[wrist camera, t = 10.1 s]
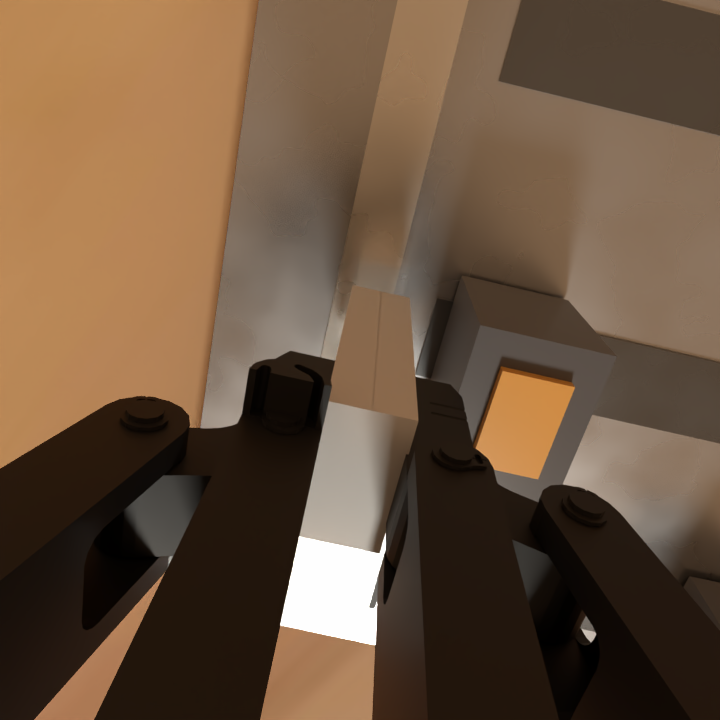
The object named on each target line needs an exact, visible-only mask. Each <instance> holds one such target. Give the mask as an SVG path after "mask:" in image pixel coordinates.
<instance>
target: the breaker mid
mask: <svg viewBox="0 0 720 720" xmlns="http://www.w3.org/2000/svg"><path fill="white" fill-rule="evenodd" d="M616 358H617V356H616V355H615V354H614V352H613V351H612V350H611V349H610V348H609V347H608V346H607V344H606V343H605V342H604V341H603V340H602V339H601V337H600V336H599V335H598V334H597V333H596V332H595V331H594V329H593V328H592V327H591V326H590V325H589V324H588V322H587V321H586V320H585V319H584V318H583V317H582V316H581V314H580V313H579V312H578V311H577V310H576V309H575V307H574V306H573V305H572V304H571V303H570V302H569V301H568V300H565V299H561V298H557V297H553V296H548V295H544V294H540V293H535V292H531V291H527V290H523V289H518V288H514V287H510V286H505V285H501V284H497V283H493V282H488V281H484V280H480V279H475V278H471V277H467V276H463V275H461V278H460V282H459V285H458V289H457V292H456V295H455V299H454V302H453V305H452V309H451V312H450V315H449V319H448V322H447V325H446V329H445V332H444V336H443V339H442V342H441V346H440V349H439V352H438V356H437V359H436V362H435V366H434V369H433V373H432V376H431V379H430V380H433V381H438V382H442V383H447V384H451V385H452V387H453V388H454V389H455V390H456V391H457V392H458V393H459V394H460V395H461V396H462V398H463V403H464V407H465V412H466V416H467V422H468V425H469V430H470V434H471V439H472V443H473V448H475V449H477V450H479V451H480V452H481V453H482V454H483V455H484V456H486V457H487V458H488V459H489V461H490V463H491V464H492V466H493V468H494V472H495V476H496V480H497V483H498V484H499V485H501V486H502V487H504V488H506V489H508V490H510V491H512V492H515V493H517V494H519V495H522V496H524V497H527V498H529V499H532V500H534V501H536V502H538V501H539V498H540V496H541V493H542V491H543V490H544V489H545V488H547V487H549V486H550V485H562V484H563V482H564V480H565V478H566V475H567V473H568V471H569V468H570V466H571V464H572V461H573V459H574V457H575V454H576V452H577V450H578V447H579V445H580V442H581V440H582V438H583V435H584V433H585V431H586V428H587V426H588V424H589V421H590V419H591V417H592V414H593V412H594V410H595V407H596V405H597V402H598V400H599V398H600V395H601V393H602V391H603V388H604V386H605V384H606V381H607V379H608V377H609V374H610V372H611V370H612V367H613V365H614V362H615V360H616Z"/></svg>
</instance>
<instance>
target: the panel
mask: <svg viewBox="0 0 720 720" xmlns="http://www.w3.org/2000/svg"><path fill="white" fill-rule="evenodd" d="M461 275H463V276H467V277H471V278H475V279H480V280H484V281H488V282H493V283H497V284H501V285H505V286H510V287H514V288H518V289H523V290H527V291H531V292H535V293H540V294H544V295H548V296H553V297H557V298H561V299H565V300H568V301H569V302H570V303H571V304H572V305H573V306H574V307H575V309H576V310H577V311H578V312H579V313H580V314H581V316H582V317H583V318H584V319H585V320H586V321H587V322H588V324H589V325H590V326H591V327H592V328H593V329H594V331H595V332H596V333H597V334H598V335H599V336H600V337H601V339H602V340H603V341H604V342H605V343H606V344H607V346H608V347H609V348H610V349H611V350H612V351H613V352H614V354H615V355H616V356H617V358H616V360H615V362H614V365H613V367H612V370H611V372H610V374H609V377H608V379H607V381H606V384H605V386H604V388H603V391H602V393H601V395H600V398H599V400H598V402H597V405H596V407H595V410H594V412H593V414H592V417H591V419H590V421H589V424H588V426H587V428H586V431H585V433H584V435H583V438H582V440H581V442H580V445H579V447H578V450H577V452H576V454H575V457H574V459H573V461H572V464H571V466H570V468H569V471H568V473H567V475H566V478H565V480H564V482H563V485H569V486H574V487H580V488H584V489H585V490H586V491H587V490H589V491H591V492H593V493H595V494H597V495H598V496H599V497H600V498H602V499H604V500H605V501H607V502H609V503H610V504H611V505H612V506H613V507H614V508H615V509H616V510H617V511H618V512H620V513H621V515H622V516H623V517H624V518H625V519H626V521H627V522H628V523H629V524H630V525H631V526H632V528H633V529H634V530H635V531H636V532H637V533H638V535H639V536H640V537H641V538H642V539H643V541H644V542H645V543H646V544H647V545H648V546H649V548H650V549H651V550H652V551H653V552H654V554H655V555H656V556H657V557H658V558H659V559H660V561H661V562H662V563H663V564H664V565H665V567H666V568H667V569H668V570H669V571H670V572H671V574H672V575H673V576H674V577H675V578H676V579H677V581H678V582H679V583H680V584H681V585H682V587H684V585H685V584H686V582H687V580H688V578H689V576H691V577H696V578H701V579H705V580H710V581H714V582H719V583H720V0H259V2H258V10H257V17H256V24H255V32H254V39H253V46H252V54H251V61H250V68H249V76H248V83H247V90H246V98H245V105H244V112H243V120H242V127H241V134H240V142H239V149H238V156H237V164H236V171H235V178H234V186H233V193H232V200H231V207H230V215H229V222H228V229H227V237H226V244H225V251H224V259H223V266H222V273H221V281H220V288H219V295H218V303H217V310H216V317H215V325H214V332H213V339H212V347H211V354H210V361H209V369H208V376H207V383H206V391H205V398H204V405H203V413H202V420H201V427H200V428H222V427H228V426H232V425H235V424H237V423H238V421H239V419H240V417H241V414H242V410H243V403H244V397H245V391H246V385H247V378H248V372H249V368H250V367H251V366H252V365H253V364H254V363H256V362H259V361H262V360H266V359H276V358H277V357H279V356H281V355H283V354H285V353H287V352H289V351H294V352H299V353H303V354H308V355H312V356H317V357H321V358H326V359H330V360H336V356H337V351H338V347H339V343H340V338H341V334H342V330H343V325H344V321H345V317H346V312H347V308H348V304H349V299H350V295H351V291H352V286H353V285H356V286H360V287H364V288H369V289H373V290H378V291H382V292H386V293H391V294H395V295H400V296H404V297H409V298H410V308H411V322H412V336H413V350H414V365H415V377H420V378H424V379H429V380H430V379H431V376H432V373H433V369H434V366H435V362H436V359H437V356H438V352H439V349H440V346H441V342H442V339H443V336H444V332H445V329H446V325H447V322H448V319H449V315H450V312H451V309H452V305H453V302H454V299H455V295H456V292H457V289H458V285H459V282H460V278H461ZM385 549H386V534H385V537H384V541H383V544H382V547H381V551H380V554H379V553H374V552H369V551H364V550H360V549H355V548H350V547H345V546H341V545H336V544H331V543H326V542H322V541H317V540H312V539H307V538H303V537H299V541H298V545H297V550H296V555H295V559H294V564H293V568H292V573H291V578H290V582H289V587H288V592H287V596H286V601H285V606H284V610H283V615H282V619H281V624H280V625H282V626H286V627H291V628H296V629H301V630H306V631H311V632H315V633H320V634H325V635H330V636H335V637H339V638H344V639H349V640H354V641H359V642H363V643H368V644H373V645H375V641H376V617H377V604H376V607H375V609H371V608H368V607H369V603H370V600H371V597H372V593H373V590H374V587H375V583H376V580H377V576H378V573H379V570H380V566H381V563H382V560H383V556H384V553H385ZM580 628H581V629H582V631H583V633H584V634H585V636H586V637H587V639H588V640H589V641H590V642H592V641H593V640H594V638H595V636H596V633H595V630H594V628H593V626H592V624H591V623H590V621H589V620H588V618H587V617H585V619H584V621H583V623H582V625H581V627H580Z"/></svg>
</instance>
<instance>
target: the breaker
mask: <svg viewBox="0 0 720 720" xmlns="http://www.w3.org/2000/svg"><path fill="white" fill-rule="evenodd" d="M683 588H684V589H685V590H686V591H687V592H688V594H689V595H690V596H691V597H692V598H693V600H694V601H695V602H696V603H697V604H698V605H699V607H700V608H701V609H702V610H703V611H704V612H705V614H706V615H707V616H708V617H709V618H710V620H711V621H712V622H713V623H714V624H715V625H716V627H717V628H718V629H719V630H720V583H719V582H714V581H710V580H705V579H701V578H696V577H691V576H689V578H688V580H687V582H686V584H685V585H684V587H683Z"/></svg>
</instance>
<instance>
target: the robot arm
mask: <svg viewBox="0 0 720 720" xmlns="http://www.w3.org/2000/svg"><path fill="white" fill-rule="evenodd" d="M189 426H190V422H189V415H188V414H187V413H186V412H185V411H184V410H183V409H182V408H181V407H180V406H178V405H176V404H174V403H172V402H170V401H166V400H162V399H158V398H156V397H145V396H137V397H132V398H125V399H119V400H117V401H114V402H112V403H109V404H107V405H105V406H103V407H102V408H100V409H98V410H97V411H95V412H94V413H92V414H90V415H89V416H87V417H85V418H84V419H82V420H80V421H79V422H77V423H75V424H74V425H72V426H70V427H69V428H67V429H65V430H64V431H62V432H60V433H59V434H57V435H55V436H54V437H52V438H50V439H49V440H47V441H45V442H44V443H42V444H40V445H39V446H37V447H35V448H34V449H32V450H31V451H29V452H27V453H26V454H24V455H22V456H21V457H19V458H17V459H16V460H14V461H12V462H11V463H9V464H7V465H6V466H4V467H2V468H1V469H0V720H34V719H35V718H36V717H37V716H38V715H39V713H40V712H41V711H42V710H43V709H44V708H45V707H46V706H47V704H48V703H49V702H50V701H51V700H52V699H53V698H54V697H55V695H56V694H57V693H58V692H59V691H60V690H61V689H62V688H63V686H64V685H65V684H66V683H67V682H68V681H69V680H70V678H71V677H72V676H73V675H74V674H75V673H76V672H77V671H78V669H79V668H80V667H81V666H82V665H83V664H84V663H85V662H86V660H87V659H88V658H89V657H90V656H91V655H92V654H93V653H94V651H95V650H96V649H97V648H98V647H99V646H100V645H101V644H102V642H103V641H104V640H105V639H106V638H107V637H108V636H109V635H110V633H111V632H112V631H113V630H114V629H115V628H116V627H117V626H118V624H119V623H120V622H121V621H122V620H123V619H124V618H125V616H126V615H127V614H128V613H129V612H130V611H131V610H132V609H133V607H134V606H135V605H136V604H137V603H138V602H139V601H140V600H141V598H142V597H143V596H144V595H145V594H146V593H147V592H148V591H149V589H150V588H151V587H152V586H153V585H154V584H155V583H156V582H157V580H158V579H159V578H160V577H161V576H162V575H163V574H164V573H165V574H164V576H163V578H162V580H161V582H160V584H159V586H158V589H157V591H156V593H155V595H154V597H153V599H152V601H151V603H150V605H149V607H148V609H147V611H146V613H145V616H144V618H143V620H142V622H141V624H140V626H139V628H138V630H137V632H136V634H135V636H134V638H133V640H132V642H131V645H130V647H129V649H128V651H127V653H126V655H125V657H124V659H123V661H122V663H121V665H120V667H119V669H118V671H117V674H116V676H115V678H114V680H113V682H112V684H111V686H110V688H109V690H108V692H107V694H106V696H105V698H104V700H103V703H102V705H101V707H100V709H99V711H98V713H97V715H96V717H95V719H94V720H260V717H261V712H262V707H263V703H264V698H265V694H266V689H267V684H268V680H269V675H270V670H271V666H272V661H273V656H274V652H275V647H276V643H277V638H278V633H279V629H280V624H281V619H282V615H283V610H284V606H285V601H286V596H287V592H288V587H289V582H290V578H291V573H292V568H293V564H294V559H295V555H296V550H297V545H298V541H299V537H303V538H307V539H312V540H317V541H322V542H326V543H331V544H336V545H341V546H345V547H350V548H355V549H360V550H364V551H369V552H374V553H379V554H380V551H381V547H382V544H383V541H384V537H385V534H386V549H385V553H384V556H383V560H382V563H381V566H380V570H379V573H378V576H377V580H376V583H375V587H374V590H373V593H372V597H371V600H370V603H369V607H368V608H371V609H375V607H376V604H377V617H376V641H375V666H374V691H373V715H372V720H720V630H719V629H718V628H717V627H716V625H715V624H714V623H713V622H712V621H711V620H710V618H709V617H708V616H707V615H706V614H705V612H704V611H703V610H702V609H701V608H700V607H699V605H698V604H697V603H696V602H695V601H694V600H693V598H692V597H691V596H690V595H689V594H688V592H687V591H686V590H685V589H684V588H683V587H682V585H681V584H680V583H679V582H678V581H677V579H676V578H675V577H674V576H673V575H672V574H671V572H670V571H669V570H668V569H667V568H666V567H665V565H664V564H663V563H662V562H661V561H660V559H659V558H658V557H657V556H656V555H655V554H654V552H653V551H652V550H651V549H650V548H649V546H648V545H647V544H646V543H645V542H644V541H643V539H642V538H641V537H640V536H639V535H638V533H637V532H636V531H635V530H634V529H633V528H632V526H631V525H630V524H629V523H628V522H627V521H626V519H625V518H624V517H623V516H622V515H621V513H620V512H618V511H617V510H616V509H615V508H614V507H613V506H612V505H611V504H610V503H609V502H607V501H605V500H604V499H602V498H600V497H599V496H598V495H597V494H595V493H593V492H591V491H589V490H587V491H586V490H585V489H584V488H580V487H574V486H569V485H563V484H562V485H550V486H549V487H547V488H545V489H544V490H543V491H542V493H541V496H540V498H539V501H538V502H536V501H534V500H532V499H529V498H527V497H524V496H522V495H519V494H517V493H515V492H512V491H510V490H508V489H506V488H504V487H502V486H501V485H499V484H498V483H497V480H496V476H495V472H494V468H493V466H492V464H491V463H490V461H489V459H488V458H487V457H486V456H484V455H483V454H482V453H481V452H480V451H479V450H477V449H475V448H473V443H472V439H471V434H470V430H469V425H468V422H467V416H466V412H465V407H464V403H463V398H462V396H461V395H460V394H459V393H458V392H457V391H456V390H455V389H454V388H453V387H452V385H451V384H447V383H442V382H438V381H433V380H429V379H424V378H420V377H415V365H414V350H413V336H412V322H411V308H410V298H409V297H404V296H400V295H395V294H391V293H386V292H382V291H378V290H373V289H369V288H364V287H360V286H356V285H353V286H352V291H351V295H350V299H349V304H348V308H347V312H346V317H345V321H344V325H343V330H342V334H341V338H340V343H339V347H338V351H337V356H336V360H330V359H326V358H321V357H317V356H312V355H308V354H303V353H299V352H294V351H289V352H287V353H285V354H283V355H281V356H279V357H277V358H276V359H266V360H262V361H259V362H256V363H254V364H253V365H252V366H251V367H250V368H249V372H248V378H247V385H246V391H245V397H244V403H243V410H242V414H241V417H240V419H239V421H238V423H237V424H235V425H232V426H228V427H222V428H189ZM165 571H166V572H165ZM585 617H587V618H588V620H589V621H590V623H591V624H592V626H593V628H594V630H595V633H596V636H595V638H594V640H593V641H592V642H590V641H589V640H588V639H587V637H586V636H585V634H584V633H583V631H582V629H581V628H580V627H581V625H582V623H583V621H584V619H585Z"/></svg>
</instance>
